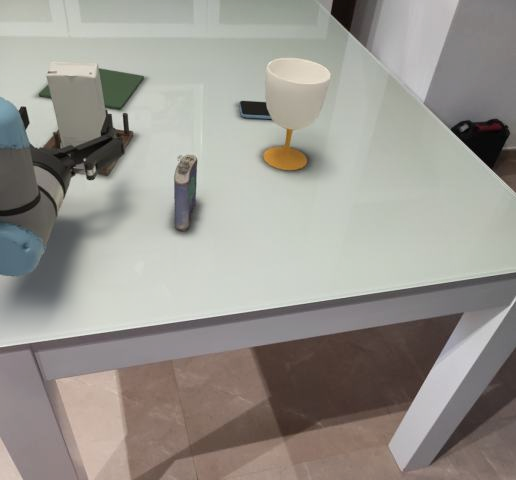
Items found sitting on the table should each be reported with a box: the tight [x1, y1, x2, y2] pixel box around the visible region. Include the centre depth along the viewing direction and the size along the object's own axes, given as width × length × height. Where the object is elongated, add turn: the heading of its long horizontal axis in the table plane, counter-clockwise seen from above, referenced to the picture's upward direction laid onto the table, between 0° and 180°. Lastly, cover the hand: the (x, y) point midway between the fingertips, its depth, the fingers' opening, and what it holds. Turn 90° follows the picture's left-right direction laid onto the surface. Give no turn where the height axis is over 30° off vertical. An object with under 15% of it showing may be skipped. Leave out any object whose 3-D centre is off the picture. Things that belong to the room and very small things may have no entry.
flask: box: [173, 154, 198, 232], centre depth 84 cm, size 9×3×11 cm, turn 174°
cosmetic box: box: [45, 60, 106, 156], centre depth 93 cm, size 8×6×15 cm
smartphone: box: [238, 100, 272, 120], centre depth 117 cm, size 7×1×15 cm
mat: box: [38, 67, 145, 111], centre depth 116 cm, size 18×18×1 cm
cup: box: [262, 57, 332, 171], centre depth 98 cm, size 12×12×17 cm
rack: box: [42, 108, 134, 177], centre depth 97 cm, size 16×14×5 cm
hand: (68, 118), depth 85 cm, fingers open, 13 cm apart
